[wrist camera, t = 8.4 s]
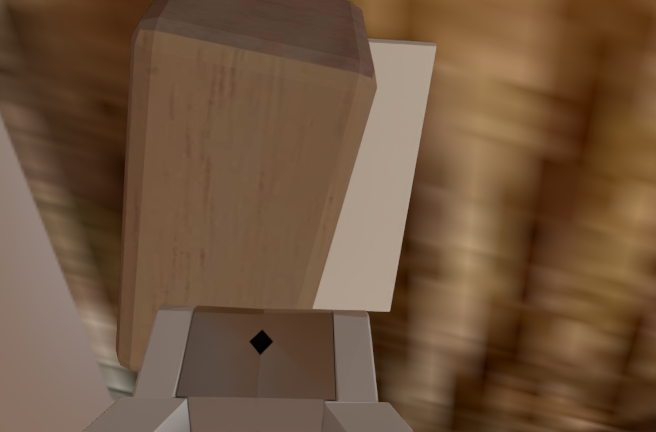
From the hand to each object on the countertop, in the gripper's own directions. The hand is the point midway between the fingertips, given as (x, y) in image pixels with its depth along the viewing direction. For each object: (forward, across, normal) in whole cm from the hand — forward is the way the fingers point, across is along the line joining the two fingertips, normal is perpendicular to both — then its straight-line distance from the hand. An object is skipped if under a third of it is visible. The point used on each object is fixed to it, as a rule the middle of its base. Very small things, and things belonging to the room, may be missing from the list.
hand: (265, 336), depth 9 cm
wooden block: (+22, +1, +2) cm, 22 cm away
